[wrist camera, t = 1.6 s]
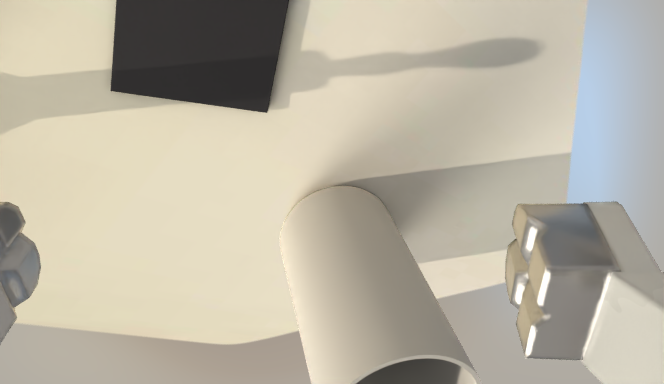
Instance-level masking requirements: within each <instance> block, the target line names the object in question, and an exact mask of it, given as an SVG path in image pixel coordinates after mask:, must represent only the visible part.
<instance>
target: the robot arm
mask: <svg viewBox="0 0 664 384" xmlns="http://www.w3.org/2000/svg"><path fill="white" fill-rule="evenodd" d="M25 223H26V222H25V220H24V218H23V216H22V214H21V211H20V209H19V207H18V206H16V205H14V204H12V203H9V202H0V344H1V342H2V341H3V339H4V337H5V336H6V334H7V333H8V331H9V329H10V328H11V326H12V325H13V323H14V322H15V320H16V319H17V316H16V312H15V308H14V307H16V306H17V305H19V304H20V303H22V302H23V301H25V300H26V299H28V298H29V297H30V296H31V294H32V293H33V291H34V289H35V288H36V286H37V284H38V279H39V274H40V269H41V265H40V257H39V253H38V250H37V248H36V245H35V243H34V242H33V241H31V240H30V239H29V238H28V237H26V236H25V235H24V234H22V233H21V232H22V230H23V227H24V225H25ZM512 226H513V229H514V232H515V235H516V239H515V240H514V241H513V242H512V243H511V244H509V245H508V249H507V256H506V272H505V279H506V285H507V291H508V296H509V300H510V303H511V304H512V305H514V306H515V307H516V308H517V309H518V310H519V312H518V317H517V321H516V326H517V330H518V333H519V337H520V341H521V344H522V347H523V351H524V355H525V358H540V359H564V360H583V361H582V363H583V364H584V365H585V366H586V367H587V369H589V371H590V372H591V373H592V374H594V375H595V377H596V378H597V379H598V380H599V381H600V382H601V383H602V384H664V272H661V270H660V269H659V267H658V265H657V263H656V262H655V260H654V258H653V257H652V255H651V253H650V252H649V250H648V248H647V246H646V245H645V243H644V241H643V240H642V238H641V236H640V235H639V233H638V231H637V230H636V228H635V226H634V225H633V223H632V221H631V220H630V218H629V216H628V215H627V213H626V211H625V209H624V208H623V206H622V205H621V204H619V203H618V202H586V203H585V202H584V203H583V204H518V205H517V207H516V209H515V212H514V217H513V222H512Z"/></svg>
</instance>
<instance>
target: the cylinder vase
mask: <svg viewBox="0 0 664 384" xmlns="http://www.w3.org/2000/svg"><path fill="white" fill-rule="evenodd" d="M280 250H281V254H282V259H283V263H284V267H285V272H286V276H287V280H288V285H289V289H290V293H291V298H292V302H293V306H294V310H295V315H296V319H297V323H298V328H299V332H300V336H301V341H302V345H303V349H304V354H305V358H306V362H307V366H308V371H309V375H310V380H311V384H482V383H481V380H480V378H479V376H478V375H477V373H476V371H475V369H474V367H473V365H472V364H471V362H470V360H469V358H468V356H467V355H466V353H465V351H464V349H463V347H462V345H461V343H460V342H459V340H458V338H457V336H456V334H455V333H454V331H453V329H452V327H451V325H450V323H449V322H448V320H447V318H446V316H445V314H444V312H443V311H442V309H441V307H440V305H439V303H438V301H437V300H436V298H435V296H434V294H433V292H432V290H431V289H430V287H429V285H428V283H427V281H426V280H425V278H424V276H423V274H422V272H421V270H420V269H419V267H418V265H417V263H416V261H415V259H414V258H413V256H412V254H411V252H410V250H409V248H408V247H407V245H406V243H405V241H404V239H403V238H402V236H401V234H400V232H399V230H398V228H397V227H396V225H395V223H394V221H393V219H392V217H391V216H390V214H389V212H388V210H387V208H386V207H385V205H384V204H383V203H382V202H381V201H380V200H379V199H378V198H377V197H376V196H375V195H373V194H372V193H370V192H368V191H366V190H363V189H360V188H357V187H352V186H334V187H328V188H324V189H321V190H318V191H316V192H314V193H312V194H310V195H308V196H307V197H305V198H304V199H302V200H301V201H300V202H299V203H297V204H296V205H295V206H294V207H293V209H292V210H291V211H290V212H289V214H288V215H287V217H286V219H285V221H284V223H283V225H282V228H281V232H280Z"/></svg>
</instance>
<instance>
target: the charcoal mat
mask: <svg viewBox="0 0 664 384" xmlns="http://www.w3.org/2000/svg"><path fill="white" fill-rule="evenodd" d="M288 3H289V0H117V1H116V17H115V33H114V48H113V64H112V80H111V91H115V92H122V93H129V94H136V95H143V96H150V97H158V98H165V99H172V100H179V101H186V102H194V103H201V104H208V105H215V106H222V107H230V108H237V109H244V110H251V111H258V112H266V113H267V111H268V106H269V101H270V96H271V91H272V85H273V80H274V75H275V70H276V65H277V60H278V54H279V49H280V44H281V39H282V34H283V28H284V23H285V18H286V13H287V8H288Z"/></svg>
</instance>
